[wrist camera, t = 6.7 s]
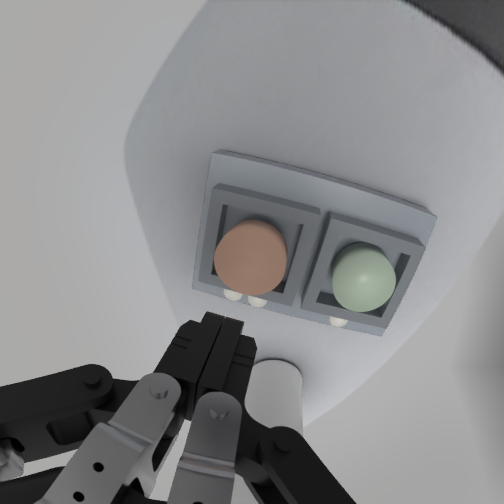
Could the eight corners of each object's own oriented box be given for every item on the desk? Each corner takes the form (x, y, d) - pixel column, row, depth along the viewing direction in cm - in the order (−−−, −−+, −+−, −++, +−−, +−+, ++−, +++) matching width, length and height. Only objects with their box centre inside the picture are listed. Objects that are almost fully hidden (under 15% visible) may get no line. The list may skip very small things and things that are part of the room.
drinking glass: (242, 392, 29) (206, 520, 15) (239, 347, 26) (190, 499, 13) (306, 398, 28) (292, 532, 14) (314, 353, 25) (304, 515, 12)
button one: (342, 235, 18) (345, 246, 16) (398, 251, 18) (405, 264, 16) (323, 289, 20) (323, 303, 18) (375, 302, 19) (380, 317, 18)
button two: (228, 212, 17) (219, 221, 16) (295, 229, 17) (293, 240, 15) (217, 270, 19) (209, 284, 17) (278, 287, 19) (275, 302, 17)
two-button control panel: (220, 149, 19) (203, 155, 16) (426, 208, 18) (446, 224, 15) (200, 275, 24) (184, 299, 20) (377, 321, 23) (384, 349, 19)
